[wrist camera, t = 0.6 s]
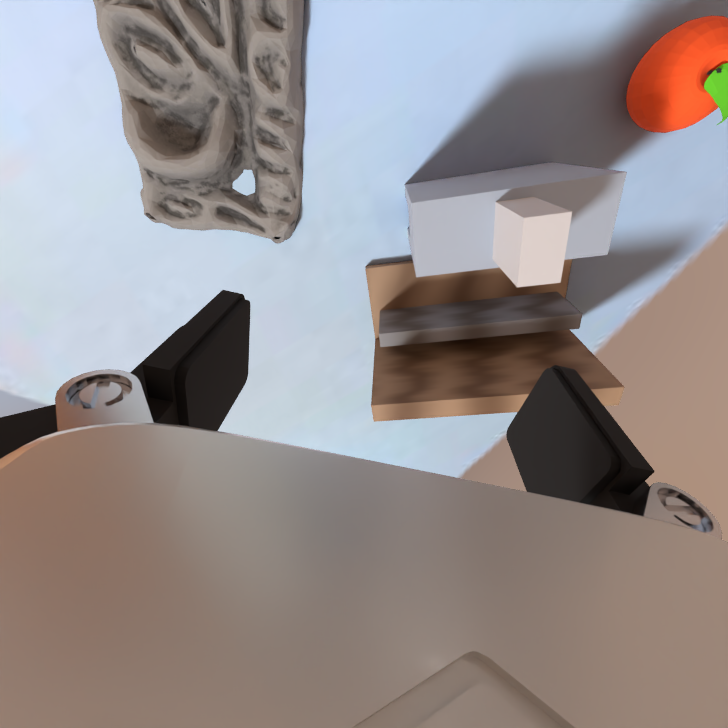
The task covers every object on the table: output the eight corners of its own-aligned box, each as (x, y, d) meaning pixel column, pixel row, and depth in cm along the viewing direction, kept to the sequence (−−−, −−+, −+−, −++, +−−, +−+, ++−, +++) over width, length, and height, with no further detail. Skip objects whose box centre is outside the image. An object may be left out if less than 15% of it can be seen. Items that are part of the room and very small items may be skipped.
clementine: (721, 89, 30) (805, 75, 24) (639, 160, 33) (696, 164, 27) (676, 5, 27) (758, -34, 21) (593, 91, 30) (643, 78, 24)
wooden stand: (570, 240, 37) (656, 287, 25) (555, 332, 43) (618, 404, 31) (366, 266, 40) (356, 318, 28) (377, 348, 45) (373, 421, 34)
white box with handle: (551, 162, 33) (694, 180, 18) (543, 221, 36) (661, 282, 20) (404, 184, 35) (417, 219, 19) (408, 239, 38) (422, 308, 22)
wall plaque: (61, -108, 26) (15, -144, 23) (312, -69, 26) (302, -99, 23) (136, 221, 39) (112, 229, 36) (304, 245, 39) (296, 254, 36)
